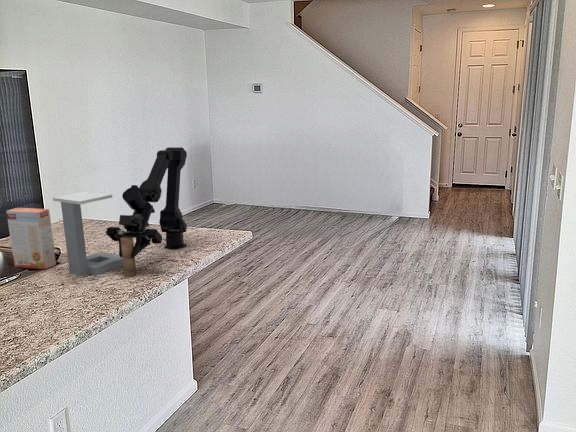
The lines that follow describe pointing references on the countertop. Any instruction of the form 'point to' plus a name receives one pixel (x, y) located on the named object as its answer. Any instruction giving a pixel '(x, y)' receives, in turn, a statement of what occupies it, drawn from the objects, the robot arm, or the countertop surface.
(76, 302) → the countertop surface
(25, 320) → the countertop surface
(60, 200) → the socket stand
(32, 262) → the cracker box
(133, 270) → the walnut peg
